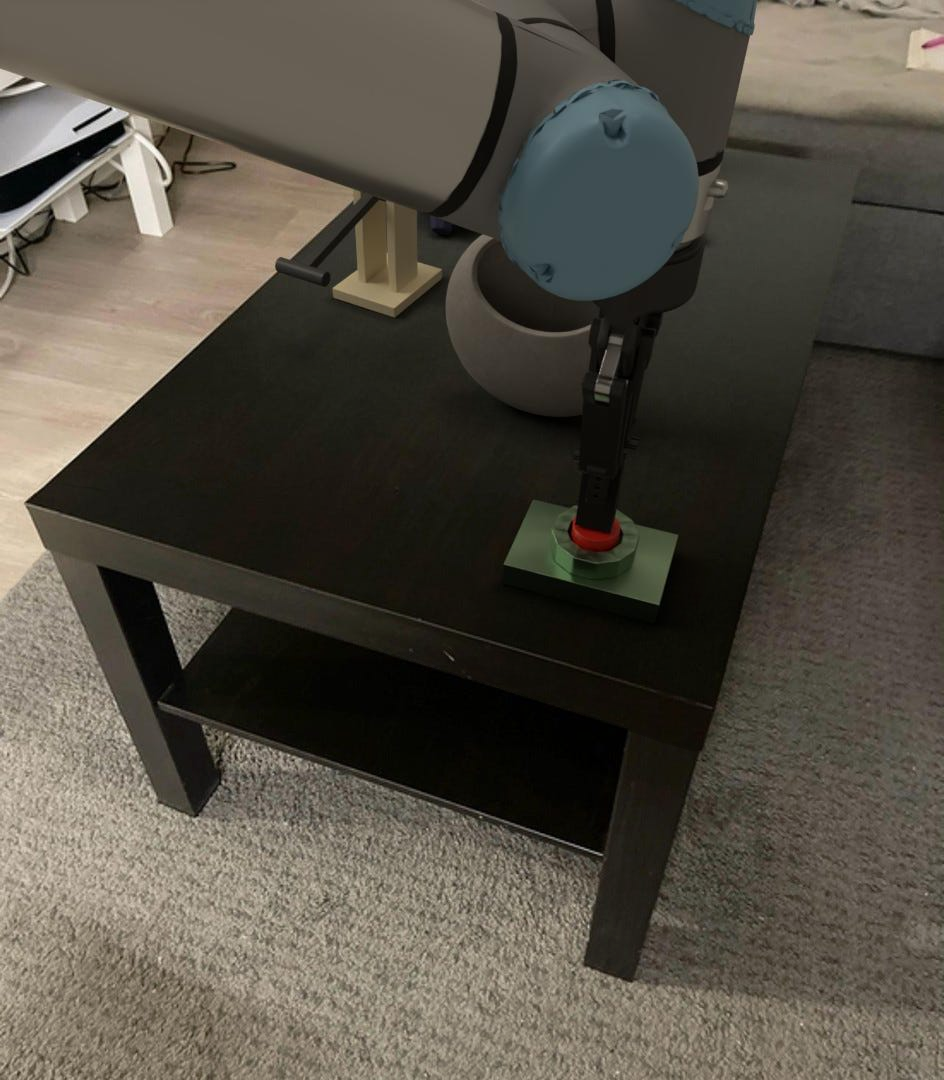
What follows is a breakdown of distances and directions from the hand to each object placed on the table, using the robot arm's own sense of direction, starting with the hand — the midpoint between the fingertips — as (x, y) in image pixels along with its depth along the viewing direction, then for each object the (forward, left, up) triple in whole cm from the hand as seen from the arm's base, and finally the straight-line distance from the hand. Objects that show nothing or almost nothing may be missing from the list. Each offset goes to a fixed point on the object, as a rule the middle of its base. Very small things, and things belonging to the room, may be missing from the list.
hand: (594, 522), depth 72 cm
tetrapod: (-6, +61, -5) cm, 62 cm away
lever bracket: (-14, +45, -5) cm, 47 cm away
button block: (0, 0, -5) cm, 5 cm away
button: (0, 0, -2) cm, 2 cm away
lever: (-18, +40, +4) cm, 43 cm away
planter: (-1, +21, -5) cm, 22 cm away
